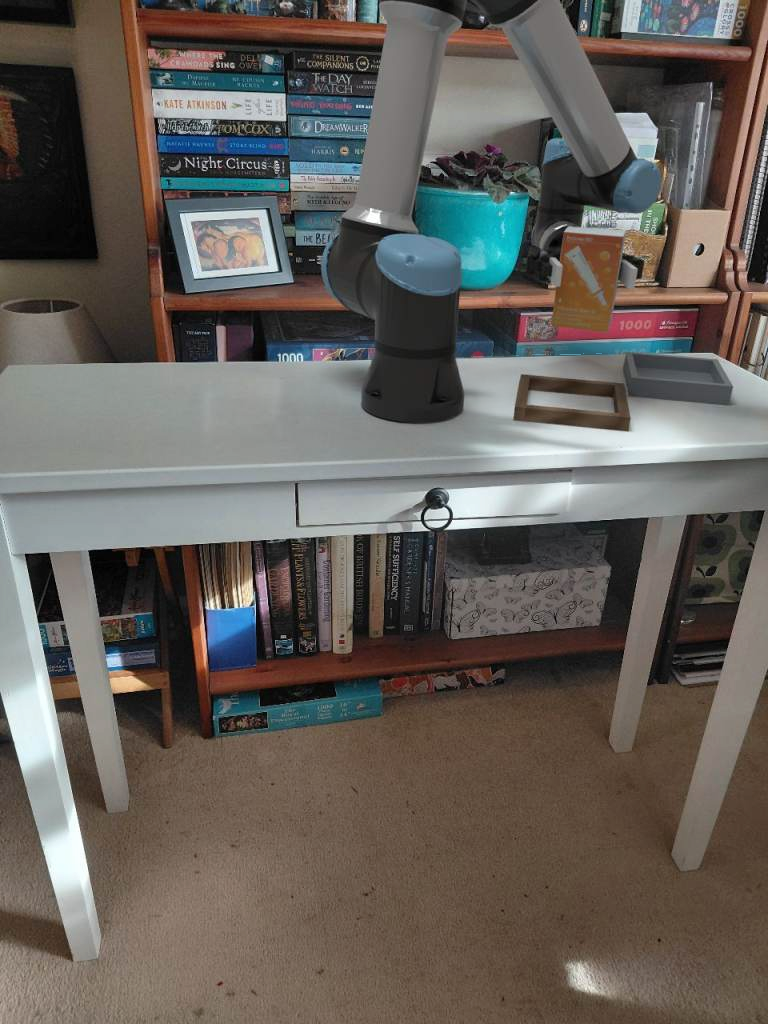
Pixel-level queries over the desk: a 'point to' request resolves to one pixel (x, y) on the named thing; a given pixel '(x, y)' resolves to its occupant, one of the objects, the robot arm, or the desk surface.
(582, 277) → the small box
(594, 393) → the walnut frame
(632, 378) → the slate tray
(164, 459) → the desk surface
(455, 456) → the desk surface
